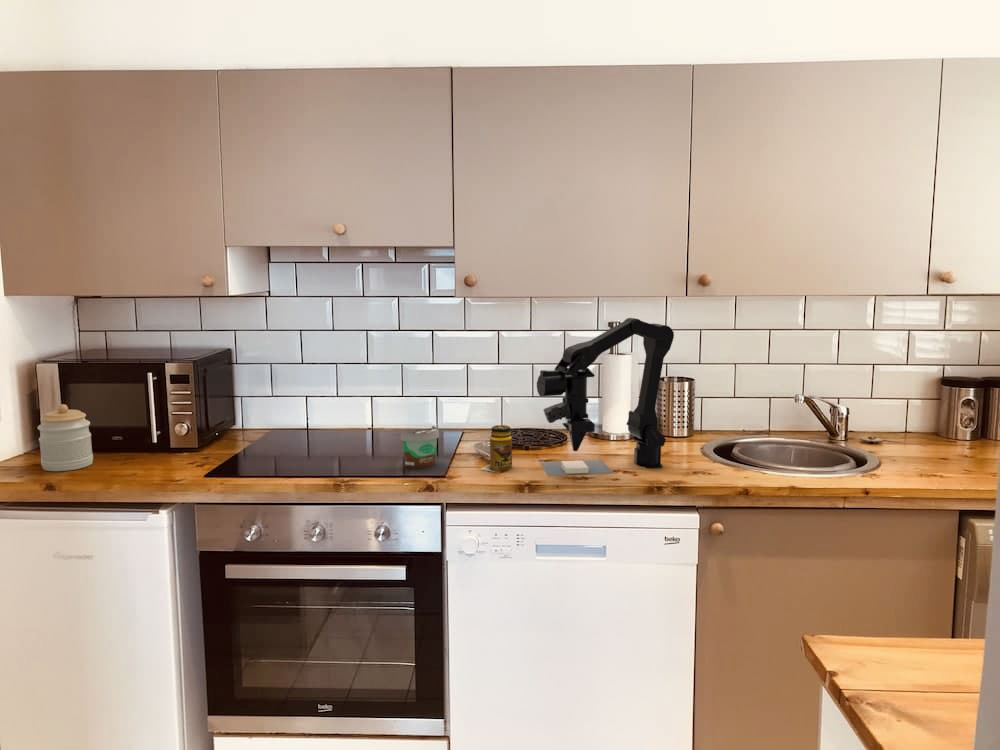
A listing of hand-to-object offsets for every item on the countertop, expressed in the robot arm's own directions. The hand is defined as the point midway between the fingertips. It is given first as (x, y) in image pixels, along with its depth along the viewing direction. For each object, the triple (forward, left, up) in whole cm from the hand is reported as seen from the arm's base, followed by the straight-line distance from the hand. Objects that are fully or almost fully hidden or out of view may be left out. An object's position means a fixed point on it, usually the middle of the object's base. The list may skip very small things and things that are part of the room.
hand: (575, 450), depth 214 cm
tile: (0, -4, -5) cm, 6 cm away
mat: (-1, -3, -6) cm, 7 cm away
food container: (+40, -13, -6) cm, 43 cm away
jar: (+140, -26, -6) cm, 143 cm away
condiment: (+20, -7, -6) cm, 22 cm away
